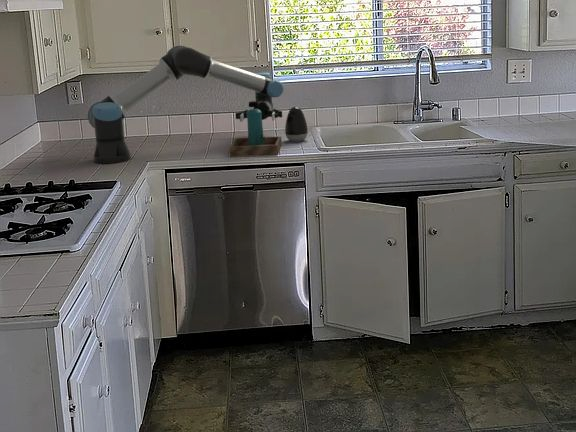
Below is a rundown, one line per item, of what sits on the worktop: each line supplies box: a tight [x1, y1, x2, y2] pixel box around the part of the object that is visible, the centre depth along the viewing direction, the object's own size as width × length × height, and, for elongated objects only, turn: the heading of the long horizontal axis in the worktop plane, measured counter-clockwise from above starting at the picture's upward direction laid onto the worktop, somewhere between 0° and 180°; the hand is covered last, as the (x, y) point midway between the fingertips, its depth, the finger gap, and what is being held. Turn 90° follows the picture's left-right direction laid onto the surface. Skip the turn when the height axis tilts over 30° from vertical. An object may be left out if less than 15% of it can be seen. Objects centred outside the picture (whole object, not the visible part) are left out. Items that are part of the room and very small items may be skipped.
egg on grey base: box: [284, 106, 309, 143], centre depth 381 cm, size 10×10×15 cm
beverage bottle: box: [246, 100, 265, 146], centre depth 362 cm, size 6×7×20 cm
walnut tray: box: [228, 136, 283, 158], centre depth 365 cm, size 20×20×4 cm
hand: (256, 118), depth 365 cm, fingers open, 13 cm apart
